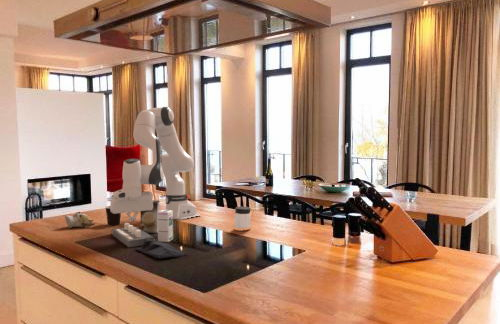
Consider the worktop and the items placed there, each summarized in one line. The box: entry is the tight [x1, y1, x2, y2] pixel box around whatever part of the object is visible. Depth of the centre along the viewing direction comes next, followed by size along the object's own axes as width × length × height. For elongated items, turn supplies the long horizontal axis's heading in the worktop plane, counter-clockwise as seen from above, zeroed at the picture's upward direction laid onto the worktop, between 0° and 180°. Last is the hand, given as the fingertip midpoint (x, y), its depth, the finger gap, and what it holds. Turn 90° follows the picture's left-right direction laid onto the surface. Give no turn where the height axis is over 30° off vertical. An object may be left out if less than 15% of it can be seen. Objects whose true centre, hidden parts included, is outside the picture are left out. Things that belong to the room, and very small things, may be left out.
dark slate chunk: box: [135, 239, 186, 260], centre depth 181 cm, size 15×22×5 cm
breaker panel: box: [111, 225, 155, 248], centre depth 202 cm, size 12×26×3 cm, turn 34°
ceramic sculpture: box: [64, 211, 96, 229], centre depth 226 cm, size 11×9×15 cm
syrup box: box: [157, 209, 174, 243], centre depth 201 cm, size 6×6×14 cm
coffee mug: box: [105, 205, 122, 227], centre depth 234 cm, size 12×9×10 cm
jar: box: [233, 206, 252, 229], centre depth 225 cm, size 9×8×12 cm
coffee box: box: [139, 199, 161, 234], centre depth 218 cm, size 9×6×16 cm
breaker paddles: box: [123, 222, 141, 238], centre depth 202 cm, size 2×20×3 cm, turn 34°
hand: (132, 220), depth 202 cm, fingers closed
